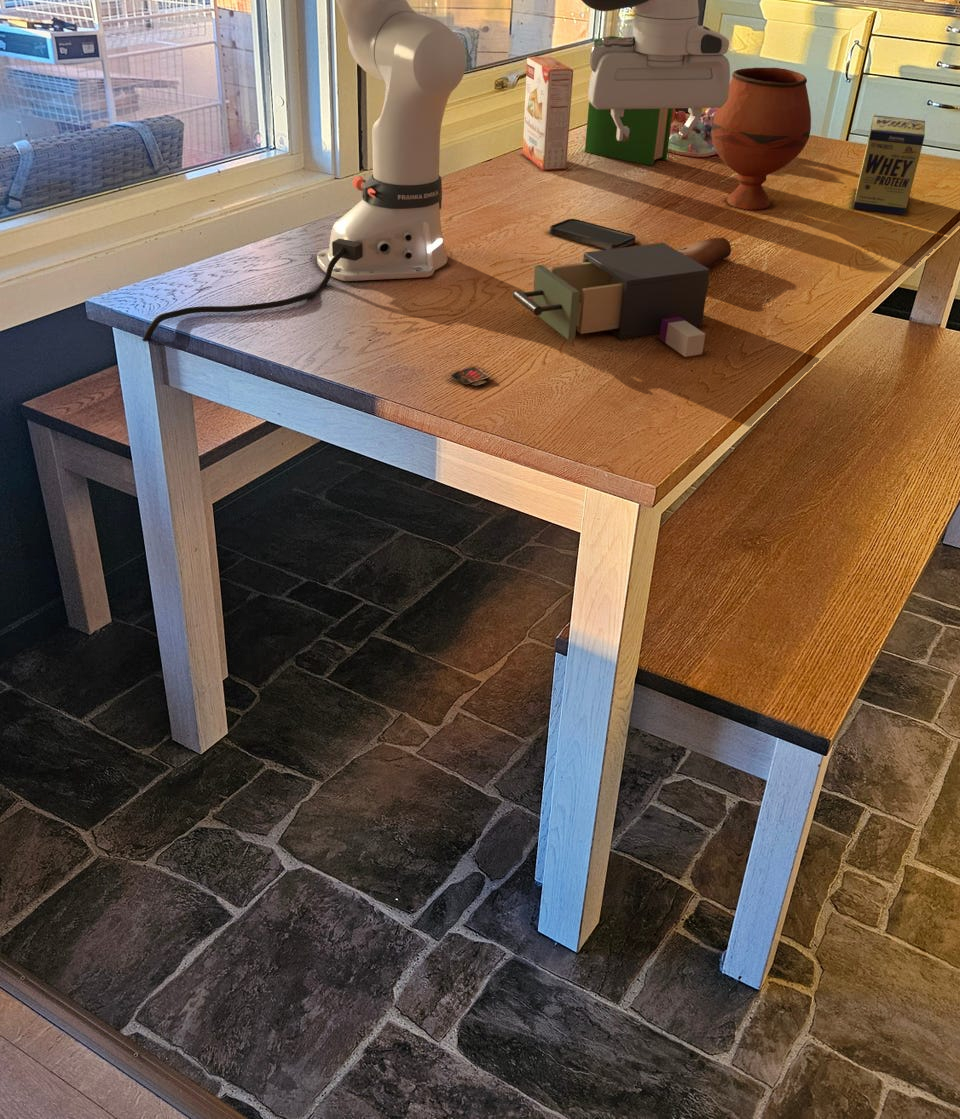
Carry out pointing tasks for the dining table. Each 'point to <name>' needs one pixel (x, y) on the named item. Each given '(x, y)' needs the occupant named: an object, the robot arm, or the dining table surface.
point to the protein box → (889, 164)
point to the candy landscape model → (693, 135)
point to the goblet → (761, 128)
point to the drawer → (575, 298)
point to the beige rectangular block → (682, 336)
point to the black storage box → (654, 286)
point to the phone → (592, 234)
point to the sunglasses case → (707, 251)
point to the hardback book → (644, 134)
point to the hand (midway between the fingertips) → (653, 139)
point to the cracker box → (547, 112)
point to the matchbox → (470, 376)
